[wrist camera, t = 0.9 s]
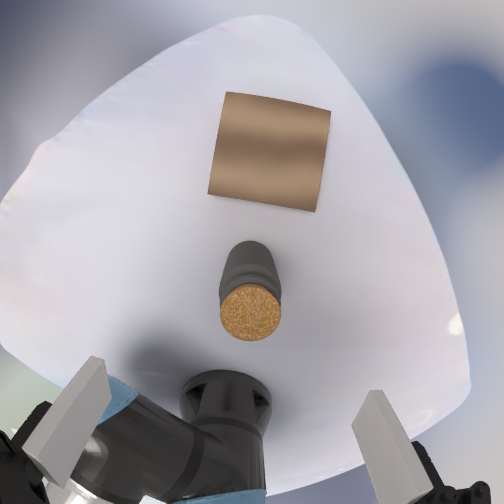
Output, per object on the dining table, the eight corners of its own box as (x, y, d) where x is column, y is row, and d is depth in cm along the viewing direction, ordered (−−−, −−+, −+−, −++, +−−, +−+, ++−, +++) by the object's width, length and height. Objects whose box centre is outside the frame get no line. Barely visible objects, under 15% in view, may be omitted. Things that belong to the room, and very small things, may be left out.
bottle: (278, 247, 35) (298, 291, 20) (264, 289, 36) (274, 354, 22) (234, 234, 34) (223, 271, 20) (222, 277, 36) (205, 336, 21)
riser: (307, 209, 34) (315, 212, 30) (212, 193, 33) (207, 194, 29) (322, 118, 31) (331, 111, 27) (228, 101, 30) (226, 91, 27)
